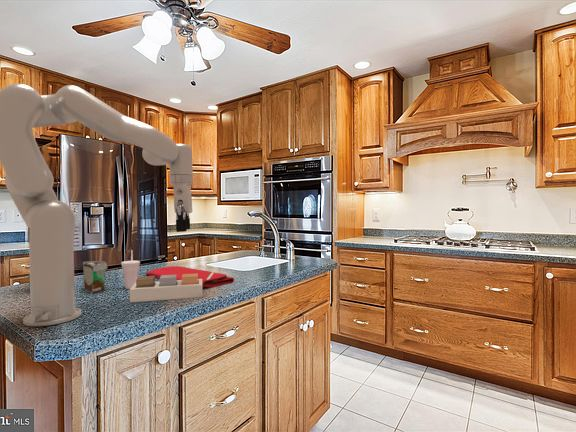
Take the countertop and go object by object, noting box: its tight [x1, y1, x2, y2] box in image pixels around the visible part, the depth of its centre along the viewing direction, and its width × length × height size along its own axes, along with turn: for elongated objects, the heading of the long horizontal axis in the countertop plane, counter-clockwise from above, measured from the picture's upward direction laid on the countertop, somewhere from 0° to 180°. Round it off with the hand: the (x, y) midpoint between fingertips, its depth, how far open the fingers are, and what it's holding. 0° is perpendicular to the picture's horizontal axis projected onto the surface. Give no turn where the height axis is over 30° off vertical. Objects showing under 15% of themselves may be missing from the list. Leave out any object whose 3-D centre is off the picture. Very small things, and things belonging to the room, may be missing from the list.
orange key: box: [182, 273, 198, 285], centre depth 111 cm, size 5×5×3 cm
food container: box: [82, 260, 108, 295], centre depth 117 cm, size 12×6×10 cm, turn 47°
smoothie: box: [120, 249, 141, 290], centre depth 120 cm, size 6×6×14 cm
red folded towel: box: [145, 265, 235, 288], centre depth 136 cm, size 16×41×4 cm, turn 51°
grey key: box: [159, 275, 177, 286], centre depth 109 cm, size 5×5×3 cm
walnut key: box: [136, 275, 156, 288], centre depth 107 cm, size 5×5×3 cm
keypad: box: [129, 279, 203, 303], centre depth 109 cm, size 10×22×4 cm, turn 105°
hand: (183, 230), depth 112 cm, fingers open, 9 cm apart
